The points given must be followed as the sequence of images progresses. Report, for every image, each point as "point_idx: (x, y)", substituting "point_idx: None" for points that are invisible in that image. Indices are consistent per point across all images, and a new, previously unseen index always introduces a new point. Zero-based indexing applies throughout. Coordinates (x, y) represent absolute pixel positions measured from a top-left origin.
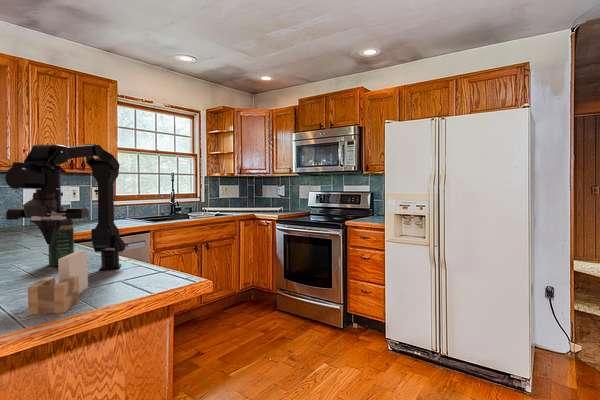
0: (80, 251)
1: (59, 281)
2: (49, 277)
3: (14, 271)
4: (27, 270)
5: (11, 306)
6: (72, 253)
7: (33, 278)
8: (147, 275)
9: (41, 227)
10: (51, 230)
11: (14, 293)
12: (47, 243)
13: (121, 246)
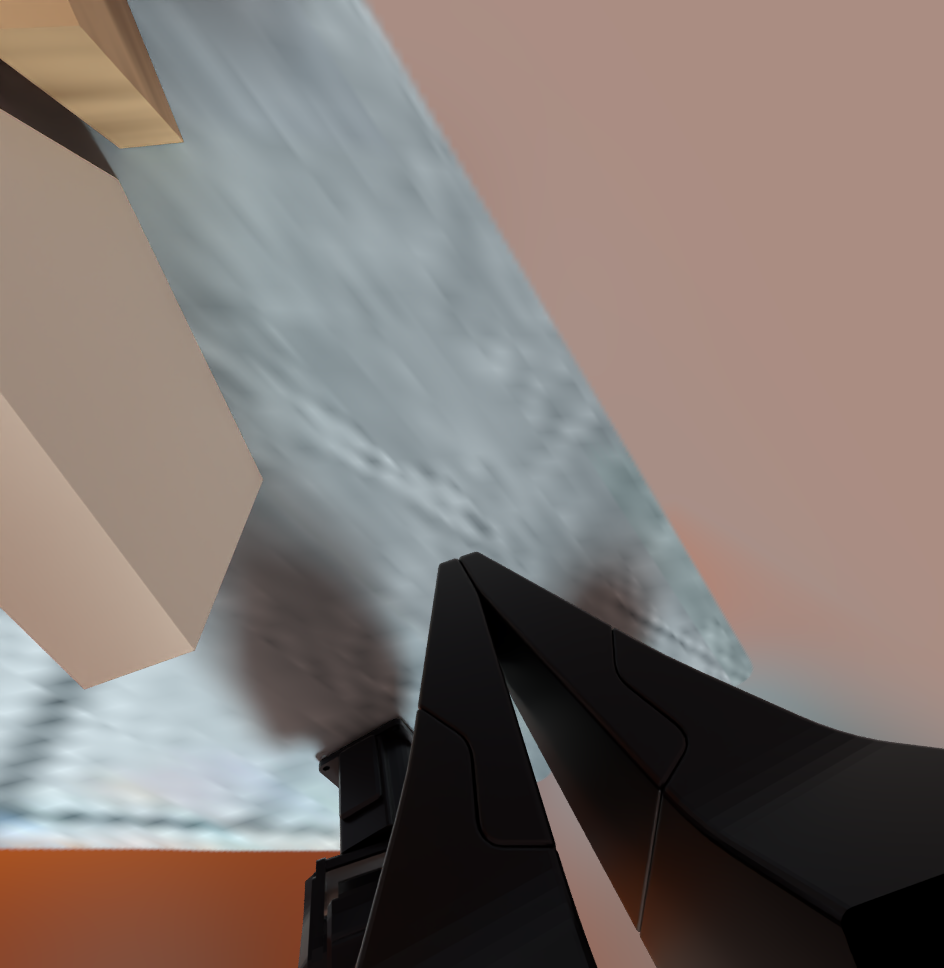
0: (96, 625)
1: (6, 116)
2: (34, 21)
3: (701, 626)
4: (670, 644)
5: (379, 85)
6: (66, 507)
7: (596, 573)
8: (17, 743)
9: (722, 735)
10: (449, 756)
11: (537, 364)
12: (472, 554)
13: (304, 921)
